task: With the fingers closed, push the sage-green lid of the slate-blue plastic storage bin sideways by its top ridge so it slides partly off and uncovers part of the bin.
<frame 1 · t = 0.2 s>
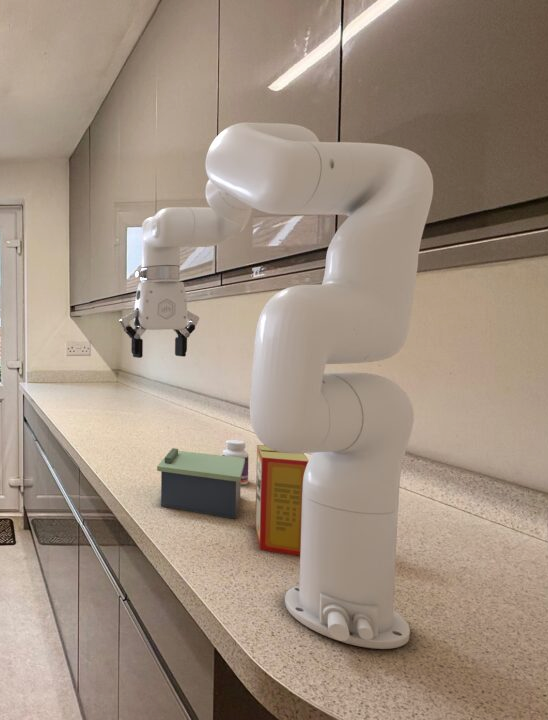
hand: (159, 356, 106), 31 cm above the worktop, tool pointing down, fingers open, 9 cm apart
bin lid: (201, 466, 104), point 8 cm above the worktop, touching storage bin
baking soda box: (279, 542, 86), on the worktop
pill bottle: (234, 482, 117), on the worktop
storage bin: (201, 501, 105), on the worktop
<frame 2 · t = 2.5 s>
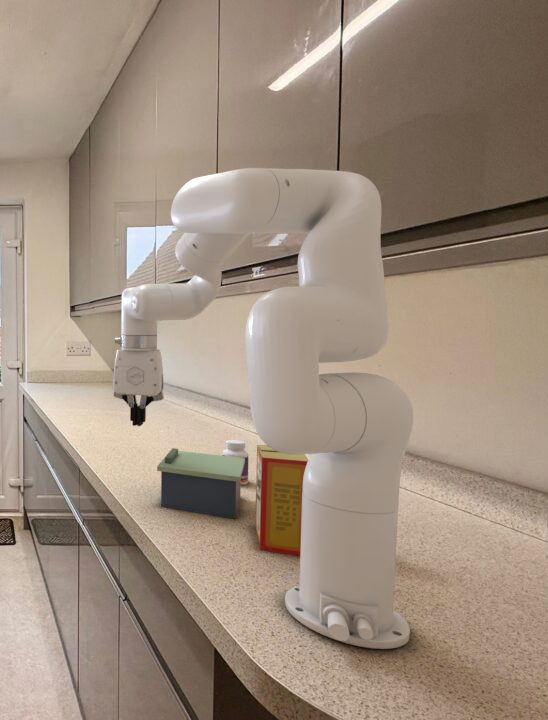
hand: (137, 424, 111), 15 cm above the worktop, tool pointing down, fingers closed
nothing on the worktop moved.
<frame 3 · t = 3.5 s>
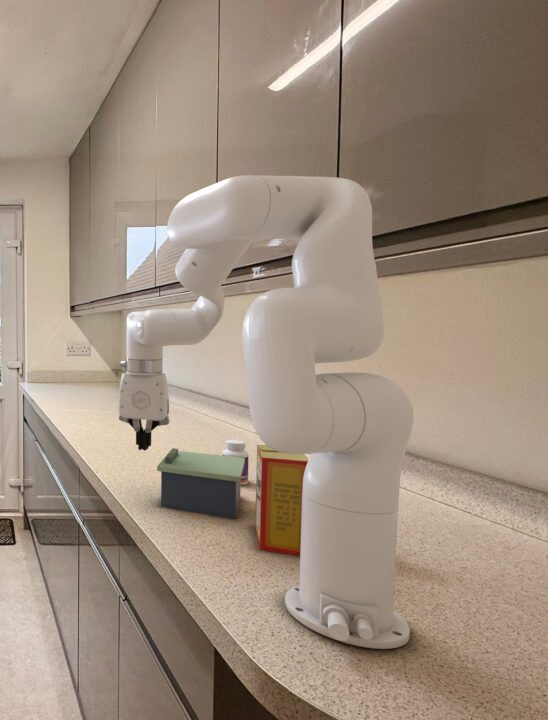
hand: (143, 448, 111), 10 cm above the worktop, tool pointing down, fingers closed
nothing on the worktop moved.
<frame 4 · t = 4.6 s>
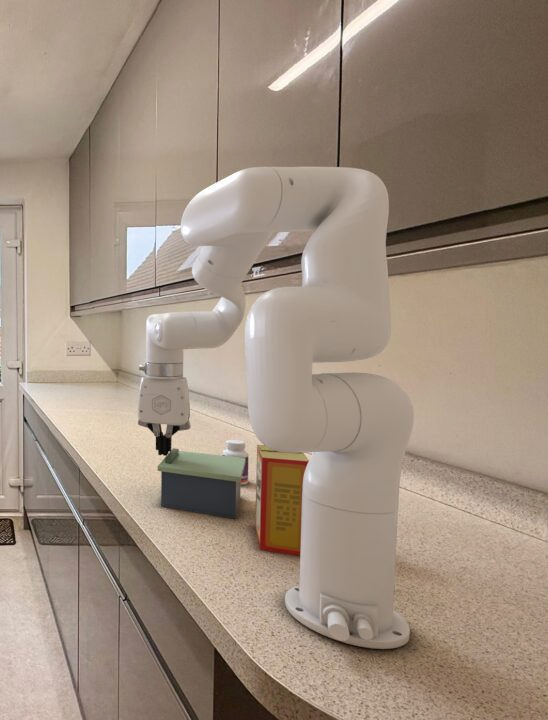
hand: (163, 453, 108), 9 cm above the worktop, tool pointing down, fingers closed
bin lid: (202, 466, 104), point 8 cm above the worktop, touching gripper, storage bin
everything else where it was.
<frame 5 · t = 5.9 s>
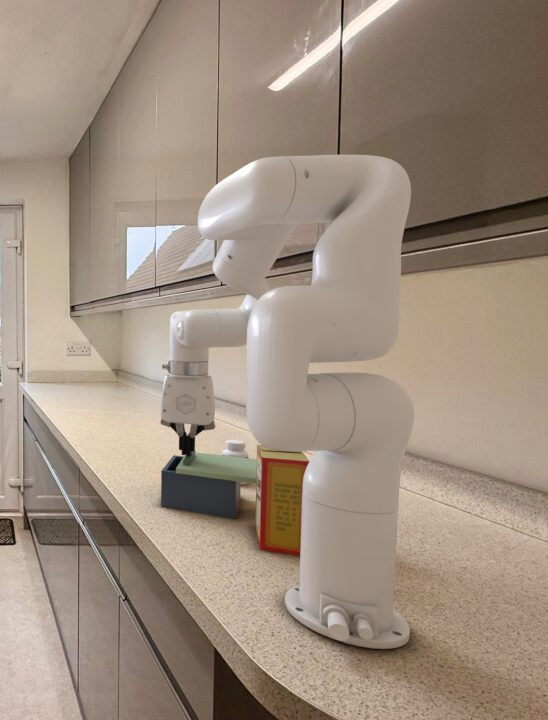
hand: (186, 454, 106), 10 cm above the worktop, tool pointing down, fingers closed
bin lid: (220, 468, 103), point 8 cm above the worktop, touching gripper, storage bin
everything else where it was.
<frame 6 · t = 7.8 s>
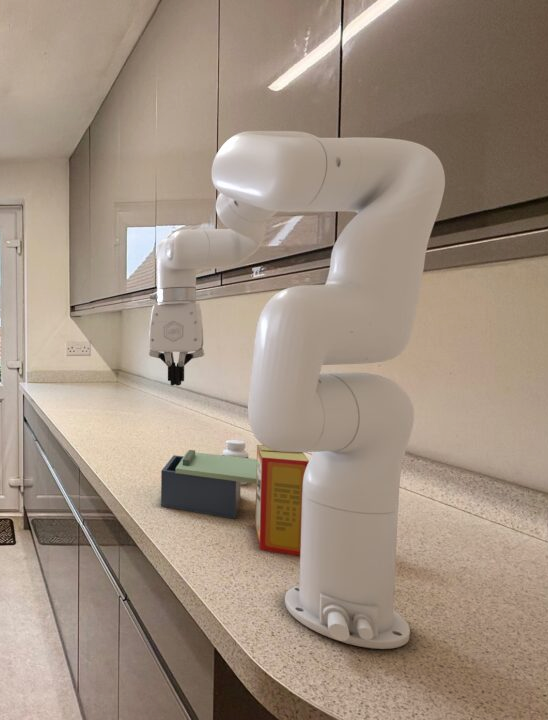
hand: (175, 384, 105), 25 cm above the worktop, tool pointing down, fingers closed
bin lid: (220, 468, 103), point 8 cm above the worktop, touching storage bin
everything else where it was.
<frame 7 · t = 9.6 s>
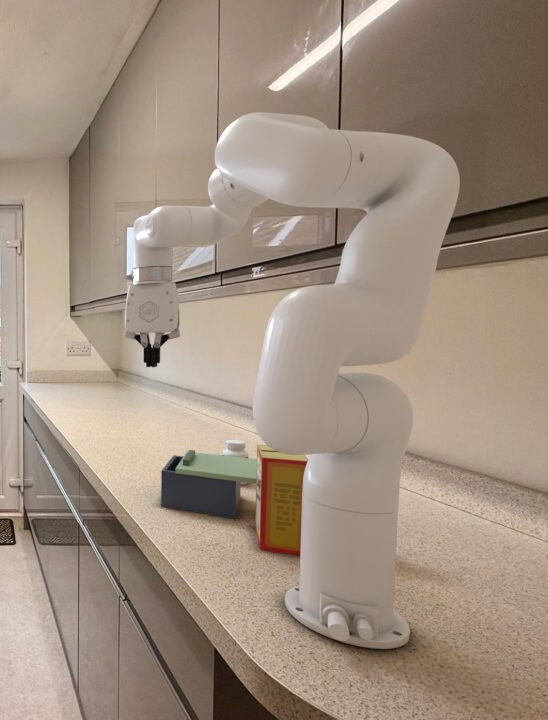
hand: (151, 366, 103), 29 cm above the worktop, tool pointing down, fingers closed
nothing on the worktop moved.
at the end: bin lid inside the target area (2.3 cm from its centre), point 7.6 cm above the worktop; bin lid moved 3.5 cm from its start; bin lid tilted 0° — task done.
